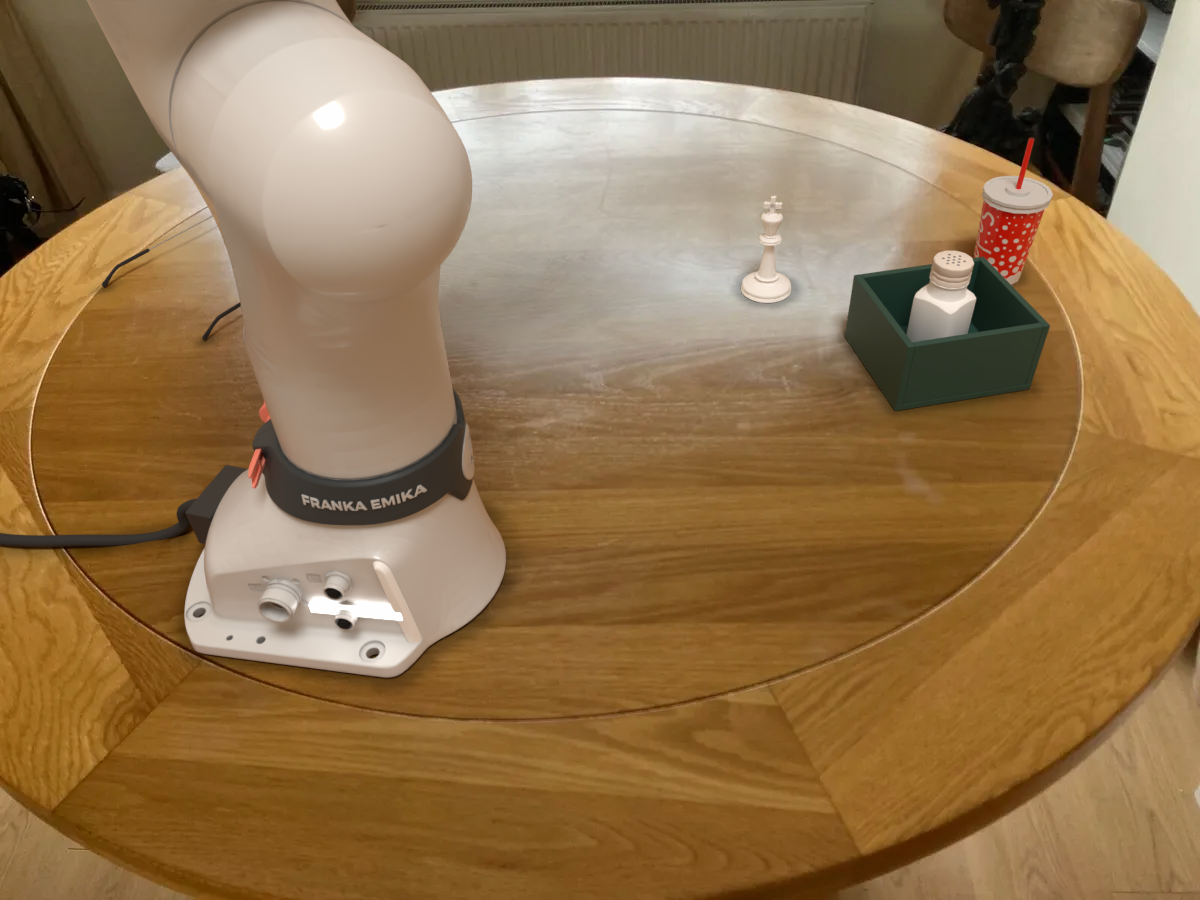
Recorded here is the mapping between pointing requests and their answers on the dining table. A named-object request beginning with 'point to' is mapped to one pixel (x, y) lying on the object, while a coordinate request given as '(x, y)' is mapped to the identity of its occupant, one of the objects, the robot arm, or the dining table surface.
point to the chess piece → (768, 262)
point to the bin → (944, 339)
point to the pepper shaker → (943, 299)
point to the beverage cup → (1011, 220)
